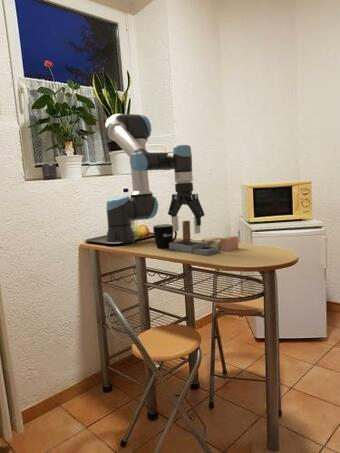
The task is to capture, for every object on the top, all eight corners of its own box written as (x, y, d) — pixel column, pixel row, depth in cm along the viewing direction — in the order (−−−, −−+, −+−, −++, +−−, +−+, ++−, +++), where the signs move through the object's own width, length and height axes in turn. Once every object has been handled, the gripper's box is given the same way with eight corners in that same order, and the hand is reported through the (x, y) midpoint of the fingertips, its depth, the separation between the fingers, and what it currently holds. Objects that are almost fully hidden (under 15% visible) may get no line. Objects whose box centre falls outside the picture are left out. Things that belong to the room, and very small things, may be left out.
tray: (169, 249, 158) (168, 242, 158) (183, 246, 164) (182, 240, 163) (191, 253, 148) (191, 246, 147) (205, 250, 153) (205, 243, 152)
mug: (162, 250, 158) (161, 227, 157) (150, 247, 165) (149, 226, 164) (183, 246, 165) (182, 224, 164) (171, 244, 172) (170, 223, 171)
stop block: (220, 250, 150) (220, 238, 150) (233, 247, 155) (232, 236, 155) (226, 251, 148) (225, 239, 147) (238, 248, 153) (238, 236, 152)
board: (202, 248, 158) (201, 239, 158) (214, 245, 163) (214, 237, 163) (219, 251, 151) (219, 241, 150) (231, 248, 156) (231, 239, 155)
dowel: (181, 248, 156) (180, 221, 154) (187, 247, 158) (186, 220, 156) (187, 249, 153) (185, 221, 152) (192, 248, 155) (191, 221, 154)
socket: (192, 253, 147) (192, 248, 147) (206, 250, 152) (205, 245, 152) (206, 255, 141) (206, 250, 141) (220, 252, 146) (220, 247, 146)
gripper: (158, 183, 159) (161, 231, 162) (198, 182, 140) (200, 235, 143) (171, 183, 164) (173, 229, 166) (211, 181, 145) (213, 233, 148)
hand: (186, 232), depth 155 cm, fingers open, 13 cm apart
